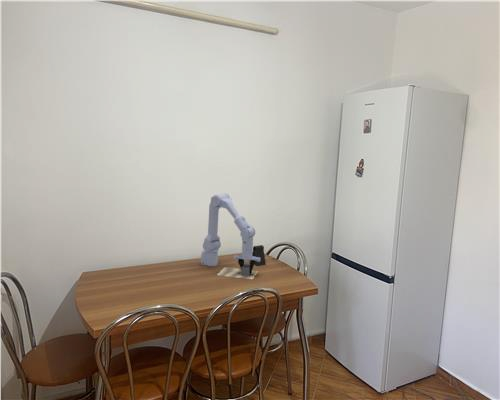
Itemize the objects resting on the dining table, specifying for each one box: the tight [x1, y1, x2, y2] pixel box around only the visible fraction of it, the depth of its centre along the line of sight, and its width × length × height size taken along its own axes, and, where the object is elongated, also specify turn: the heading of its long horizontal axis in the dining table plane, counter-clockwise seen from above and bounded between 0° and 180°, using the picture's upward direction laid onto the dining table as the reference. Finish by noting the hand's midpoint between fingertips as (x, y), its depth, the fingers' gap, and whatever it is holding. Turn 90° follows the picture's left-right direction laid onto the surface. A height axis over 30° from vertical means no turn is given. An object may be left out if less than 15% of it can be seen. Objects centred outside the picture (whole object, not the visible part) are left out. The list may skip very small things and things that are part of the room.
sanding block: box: [240, 262, 250, 276], centre depth 201 cm, size 4×8×4 cm, turn 166°
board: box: [216, 266, 259, 280], centre depth 202 cm, size 20×14×1 cm
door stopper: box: [252, 244, 267, 267], centre depth 219 cm, size 9×6×12 cm, turn 33°
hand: (246, 272), depth 201 cm, fingers closed on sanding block, 4 cm apart
